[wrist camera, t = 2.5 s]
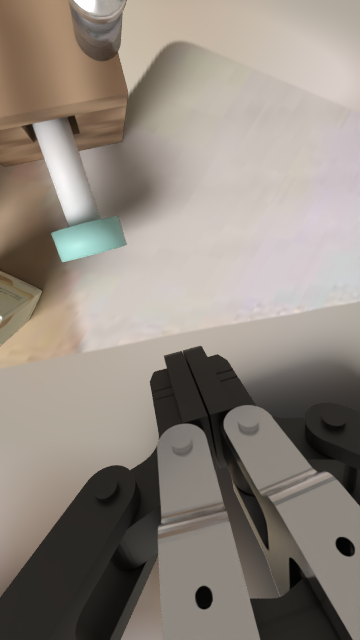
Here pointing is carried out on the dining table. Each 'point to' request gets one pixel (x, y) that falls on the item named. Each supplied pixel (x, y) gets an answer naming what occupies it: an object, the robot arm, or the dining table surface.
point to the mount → (53, 81)
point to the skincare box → (15, 304)
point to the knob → (75, 196)
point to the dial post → (97, 26)
